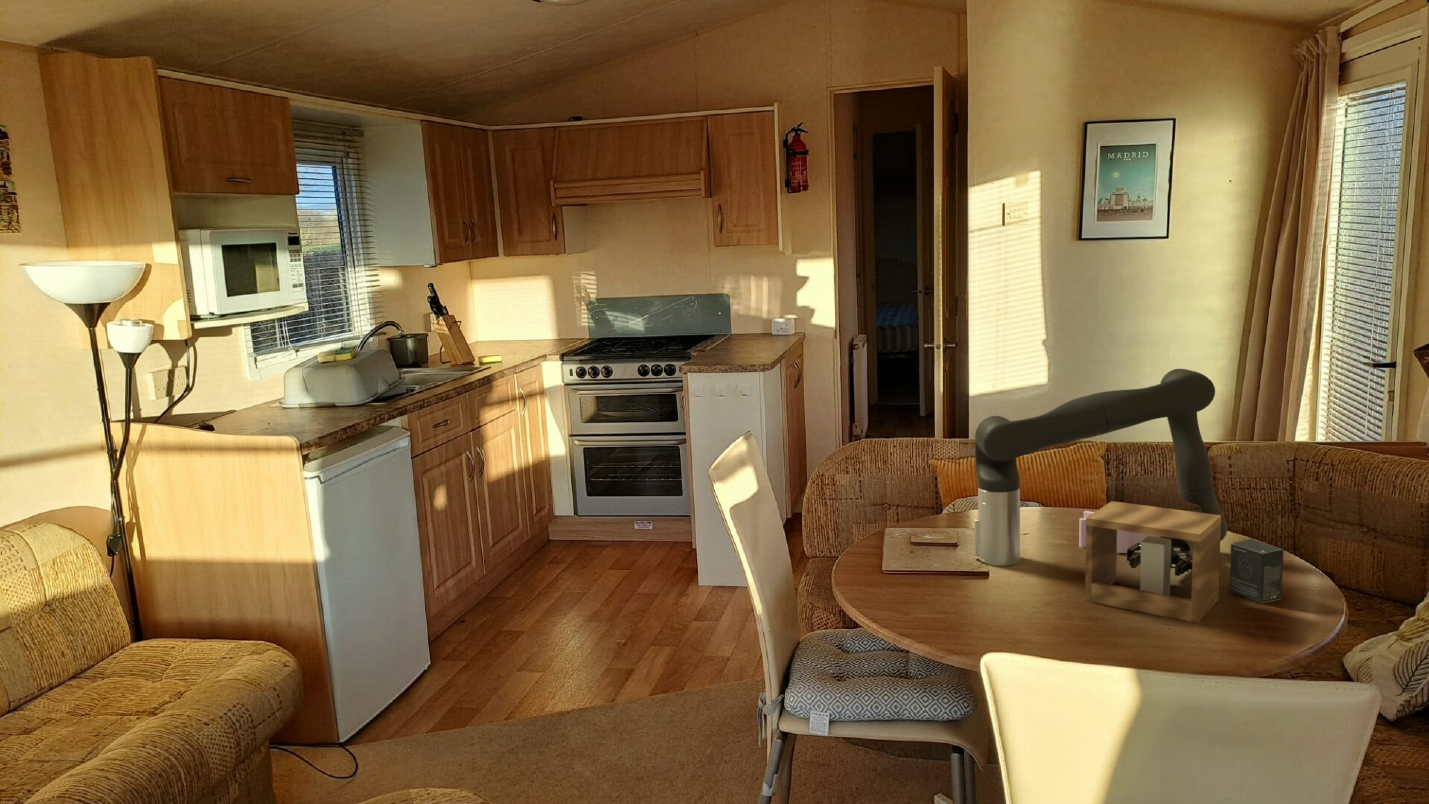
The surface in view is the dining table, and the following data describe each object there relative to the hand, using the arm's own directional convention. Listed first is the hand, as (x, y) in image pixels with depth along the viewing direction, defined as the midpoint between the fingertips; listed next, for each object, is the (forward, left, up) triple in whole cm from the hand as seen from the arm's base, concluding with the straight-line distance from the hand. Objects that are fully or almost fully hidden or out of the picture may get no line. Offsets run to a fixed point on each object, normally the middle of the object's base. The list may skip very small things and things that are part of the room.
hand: (1154, 567), depth 205 cm
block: (0, +1, -7) cm, 7 cm away
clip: (-16, +30, -7) cm, 34 cm away
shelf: (0, -2, -7) cm, 7 cm away
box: (+16, +12, -7) cm, 21 cm away
